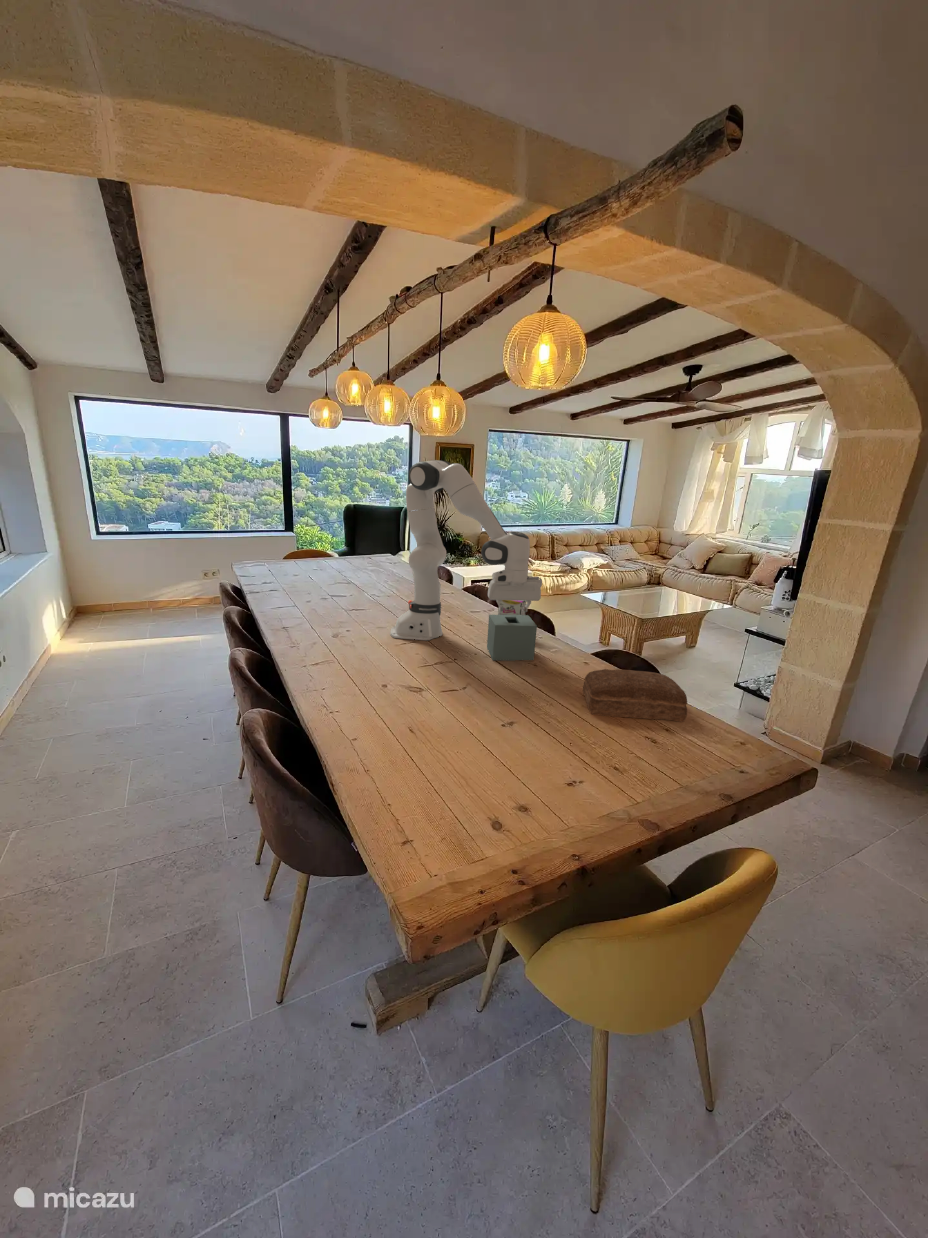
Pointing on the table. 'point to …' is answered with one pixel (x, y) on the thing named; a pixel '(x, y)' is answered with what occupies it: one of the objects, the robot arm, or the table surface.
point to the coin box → (511, 637)
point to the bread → (634, 695)
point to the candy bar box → (512, 607)
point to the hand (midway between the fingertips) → (512, 611)
